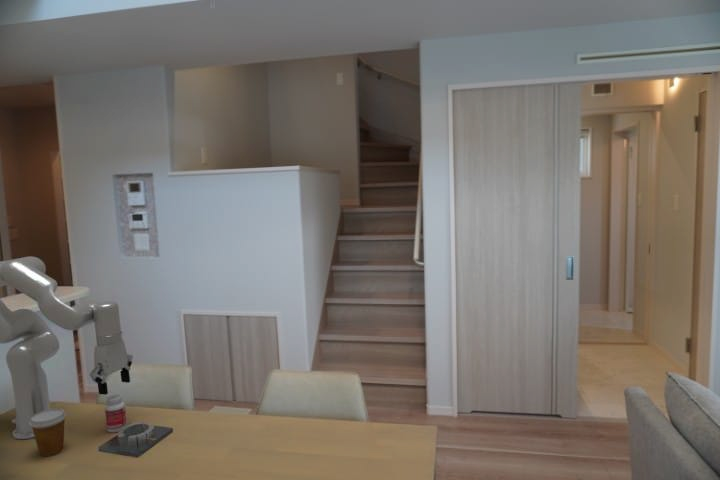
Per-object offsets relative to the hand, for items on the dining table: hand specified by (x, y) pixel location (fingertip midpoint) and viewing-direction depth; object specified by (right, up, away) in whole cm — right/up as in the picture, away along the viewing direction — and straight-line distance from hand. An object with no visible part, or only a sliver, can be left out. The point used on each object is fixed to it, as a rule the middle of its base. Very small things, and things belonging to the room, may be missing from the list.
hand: (114, 387), depth 162 cm
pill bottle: (0, -15, +2) cm, 15 cm away
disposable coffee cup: (-14, -16, -12) cm, 25 cm away
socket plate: (+11, -15, -7) cm, 20 cm away
